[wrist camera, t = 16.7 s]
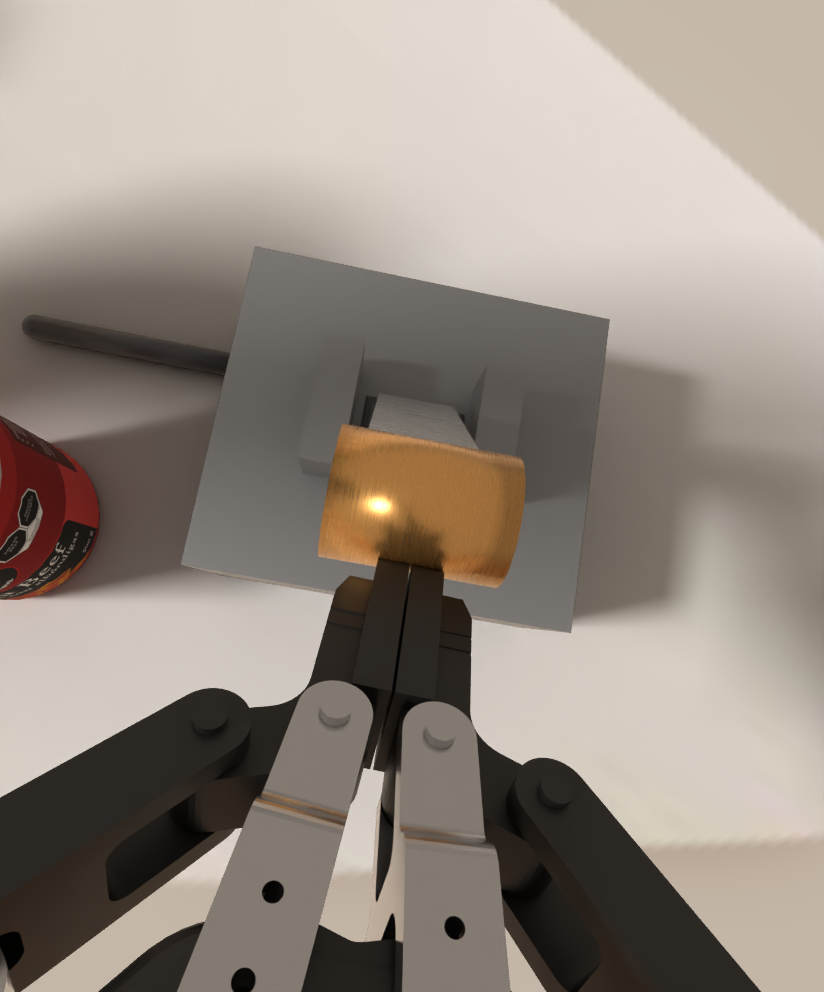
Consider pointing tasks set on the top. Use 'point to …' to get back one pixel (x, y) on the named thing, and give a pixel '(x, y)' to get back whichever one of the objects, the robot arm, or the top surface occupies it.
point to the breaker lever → (422, 494)
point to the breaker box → (340, 400)
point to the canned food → (41, 514)
